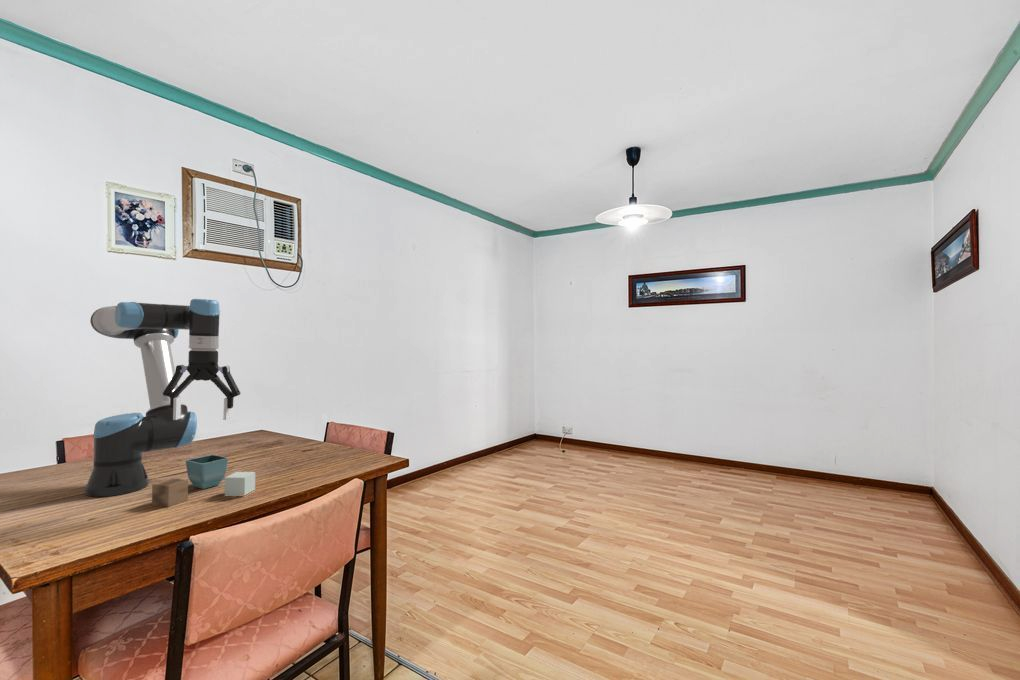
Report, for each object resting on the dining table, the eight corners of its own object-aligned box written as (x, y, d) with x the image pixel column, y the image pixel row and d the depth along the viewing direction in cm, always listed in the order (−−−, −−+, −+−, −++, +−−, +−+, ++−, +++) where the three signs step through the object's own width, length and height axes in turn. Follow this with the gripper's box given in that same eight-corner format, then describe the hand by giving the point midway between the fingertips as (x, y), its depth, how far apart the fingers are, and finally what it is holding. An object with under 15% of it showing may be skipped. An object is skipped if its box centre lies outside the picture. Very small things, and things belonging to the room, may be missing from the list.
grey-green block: (224, 497, 139) (224, 477, 139) (236, 490, 145) (236, 471, 145) (244, 497, 139) (244, 477, 139) (255, 490, 145) (255, 471, 145)
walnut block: (152, 505, 131) (152, 484, 131) (171, 498, 137) (172, 478, 137) (168, 507, 130) (168, 486, 130) (187, 500, 136) (188, 480, 136)
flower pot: (228, 484, 151) (229, 457, 151) (201, 492, 143) (201, 463, 143) (212, 480, 154) (212, 454, 154) (184, 488, 146) (184, 460, 146)
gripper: (150, 349, 132) (148, 421, 133) (244, 351, 138) (242, 421, 138) (163, 348, 140) (162, 416, 140) (252, 350, 145) (250, 416, 145)
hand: (201, 419), depth 139 cm, fingers open, 13 cm apart
